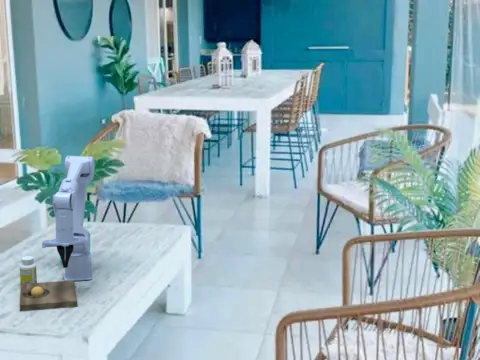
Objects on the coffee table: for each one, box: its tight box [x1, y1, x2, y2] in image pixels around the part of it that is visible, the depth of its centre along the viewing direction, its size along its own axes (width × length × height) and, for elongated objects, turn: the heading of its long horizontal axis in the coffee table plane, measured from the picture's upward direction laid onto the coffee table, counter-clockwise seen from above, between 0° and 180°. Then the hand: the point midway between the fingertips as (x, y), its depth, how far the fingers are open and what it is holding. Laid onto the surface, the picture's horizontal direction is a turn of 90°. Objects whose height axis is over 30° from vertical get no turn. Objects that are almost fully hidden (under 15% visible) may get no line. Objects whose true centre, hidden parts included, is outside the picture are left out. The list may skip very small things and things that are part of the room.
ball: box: [31, 286, 44, 296], centre depth 215 cm, size 4×4×4 cm
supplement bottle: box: [19, 255, 38, 285], centre depth 226 cm, size 5×5×10 cm
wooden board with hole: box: [19, 280, 78, 312], centre depth 216 cm, size 18×18×2 cm
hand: (65, 266), depth 219 cm, fingers closed
